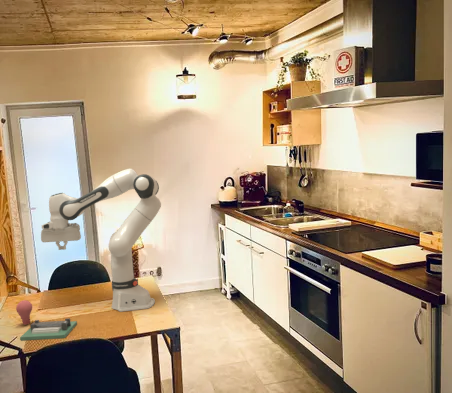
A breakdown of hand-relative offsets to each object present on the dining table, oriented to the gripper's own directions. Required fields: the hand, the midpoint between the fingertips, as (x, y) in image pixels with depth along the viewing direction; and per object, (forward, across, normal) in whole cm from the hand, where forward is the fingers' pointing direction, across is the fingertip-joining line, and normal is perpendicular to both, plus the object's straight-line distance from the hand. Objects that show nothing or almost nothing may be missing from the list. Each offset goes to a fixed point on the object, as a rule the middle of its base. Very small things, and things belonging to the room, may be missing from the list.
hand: (62, 249), depth 243 cm
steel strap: (+28, -5, +35) cm, 45 cm away
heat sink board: (+31, -4, +35) cm, 47 cm away
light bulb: (+31, +12, +24) cm, 41 cm away
